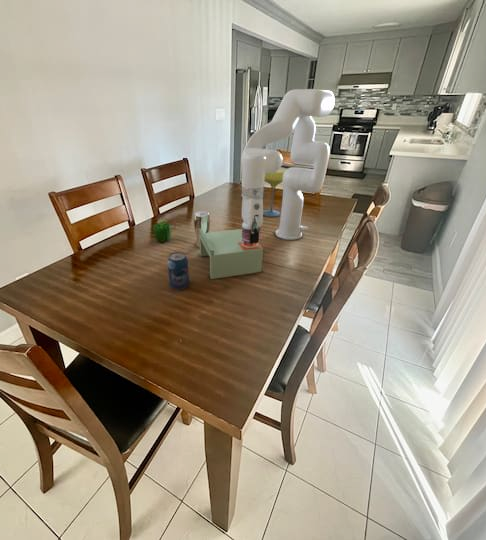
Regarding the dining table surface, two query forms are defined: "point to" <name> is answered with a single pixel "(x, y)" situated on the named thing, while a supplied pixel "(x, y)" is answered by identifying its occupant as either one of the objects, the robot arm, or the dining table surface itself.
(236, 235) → the shelf
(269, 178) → the cocktail glass
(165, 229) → the bell pepper
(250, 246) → the pill bottle
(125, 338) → the dining table surface
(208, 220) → the beer glass
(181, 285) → the soda can
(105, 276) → the dining table surface
